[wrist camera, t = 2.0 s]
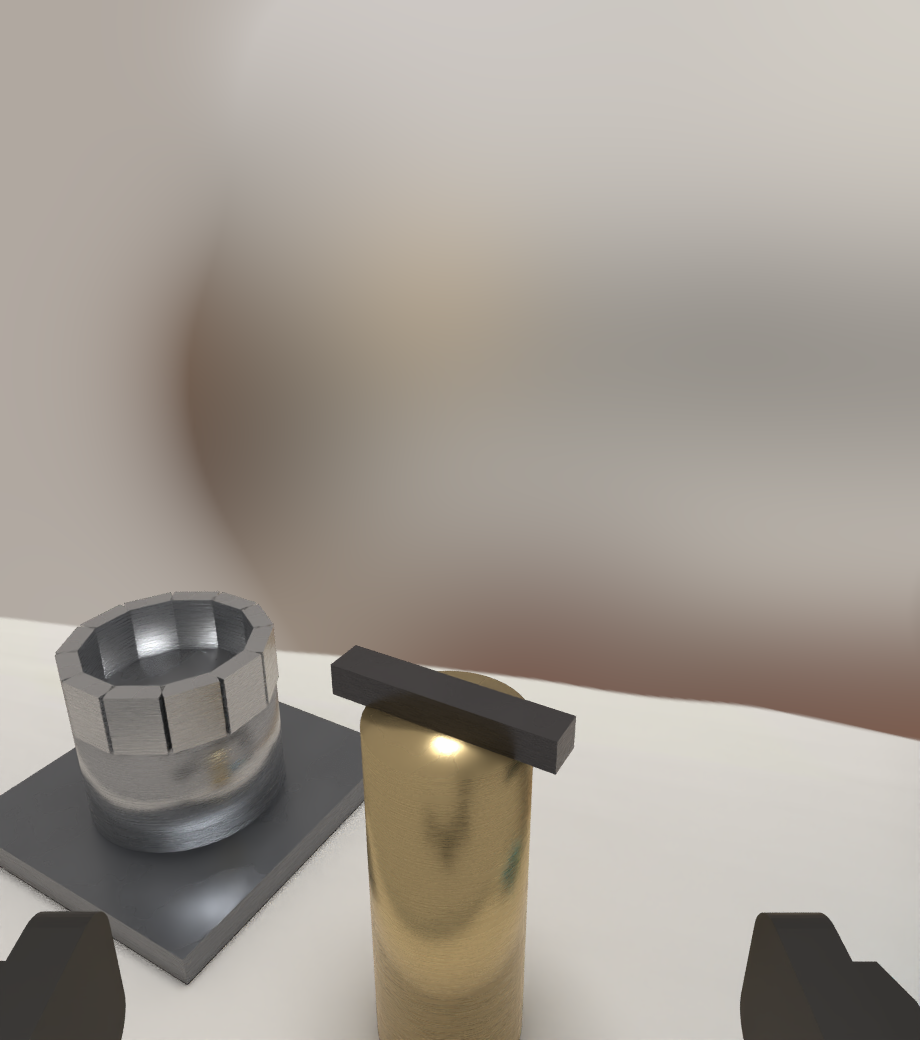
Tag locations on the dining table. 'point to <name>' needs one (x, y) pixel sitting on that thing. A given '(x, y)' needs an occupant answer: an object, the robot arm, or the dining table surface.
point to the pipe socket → (178, 778)
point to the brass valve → (448, 840)
